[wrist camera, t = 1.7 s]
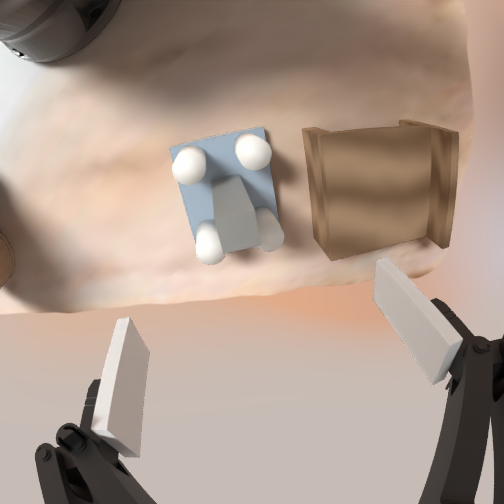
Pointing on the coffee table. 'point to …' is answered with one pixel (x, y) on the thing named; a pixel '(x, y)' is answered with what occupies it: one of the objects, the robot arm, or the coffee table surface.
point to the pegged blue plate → (228, 193)
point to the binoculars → (5, 260)
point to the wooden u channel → (381, 186)
